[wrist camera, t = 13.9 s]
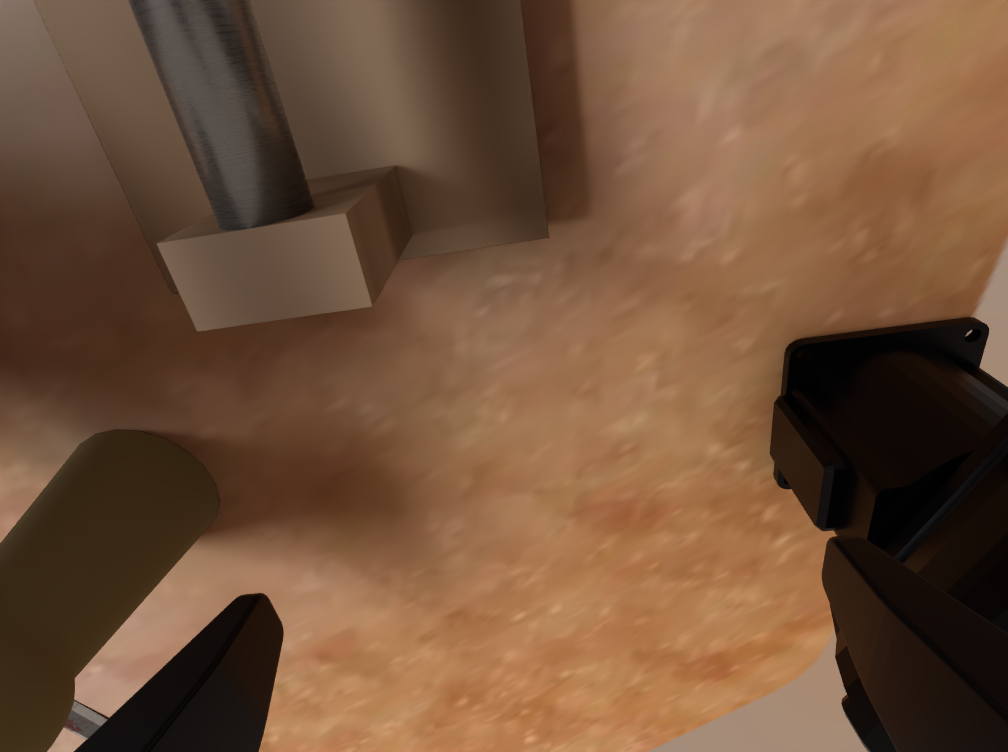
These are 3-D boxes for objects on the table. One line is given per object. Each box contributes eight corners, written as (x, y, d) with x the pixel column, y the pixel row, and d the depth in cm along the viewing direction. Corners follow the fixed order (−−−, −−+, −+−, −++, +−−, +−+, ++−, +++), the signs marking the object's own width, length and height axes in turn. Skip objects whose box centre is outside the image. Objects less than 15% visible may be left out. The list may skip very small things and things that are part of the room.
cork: (218, 446, 23) (7, 728, 13) (220, 551, 26) (47, 844, 16) (60, 415, 22) (-280, 688, 13) (80, 526, 25) (-184, 816, 16)
